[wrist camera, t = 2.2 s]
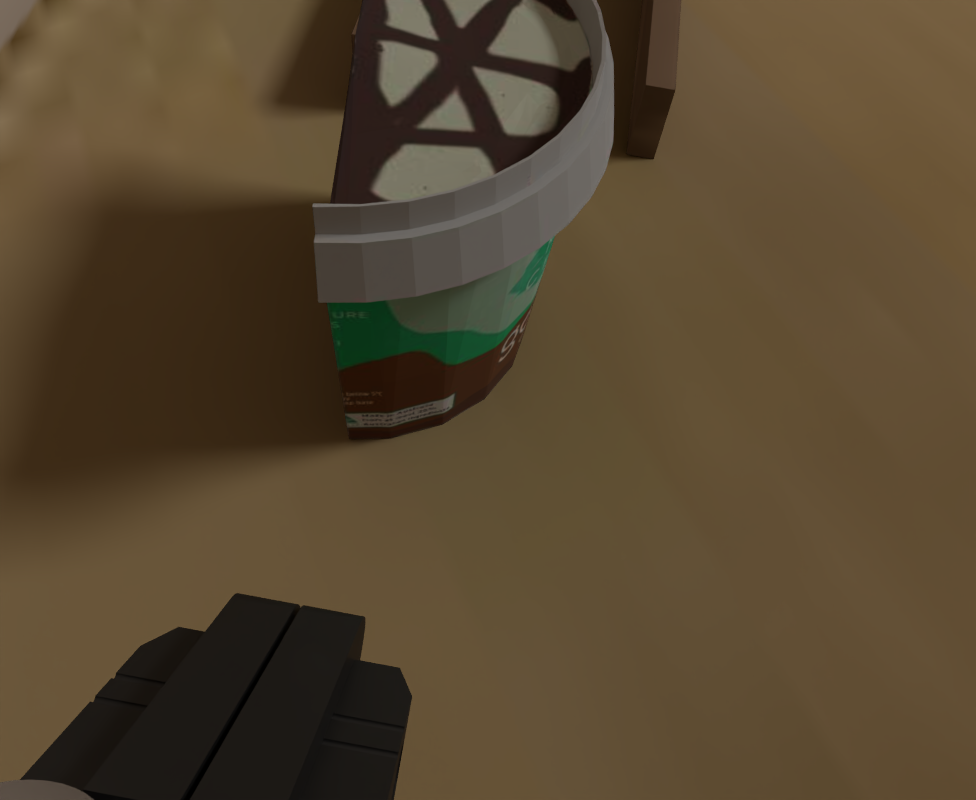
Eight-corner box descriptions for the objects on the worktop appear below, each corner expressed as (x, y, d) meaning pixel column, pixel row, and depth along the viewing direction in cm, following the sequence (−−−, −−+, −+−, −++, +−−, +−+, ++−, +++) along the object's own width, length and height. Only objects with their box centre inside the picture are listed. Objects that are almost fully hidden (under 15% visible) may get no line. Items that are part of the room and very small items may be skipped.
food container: (568, 499, 24) (658, 253, 15) (342, 487, 23) (307, 228, 15) (557, 180, 30) (616, -114, 22) (381, 167, 30) (372, -137, 22)
